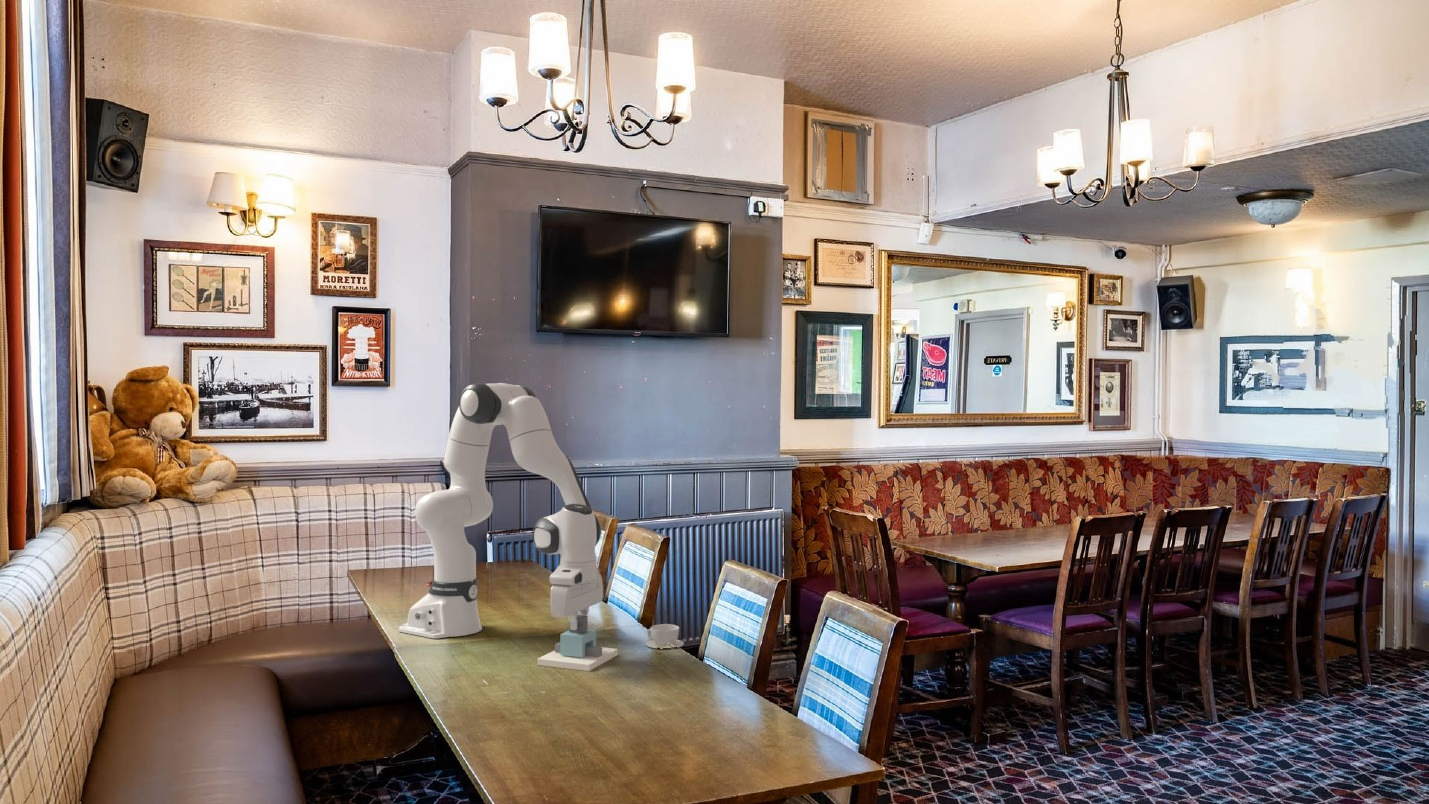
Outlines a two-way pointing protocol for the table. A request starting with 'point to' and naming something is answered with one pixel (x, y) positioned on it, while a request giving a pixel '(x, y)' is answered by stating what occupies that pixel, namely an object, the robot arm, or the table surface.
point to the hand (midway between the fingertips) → (578, 627)
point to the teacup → (664, 635)
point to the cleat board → (578, 658)
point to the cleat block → (577, 639)
